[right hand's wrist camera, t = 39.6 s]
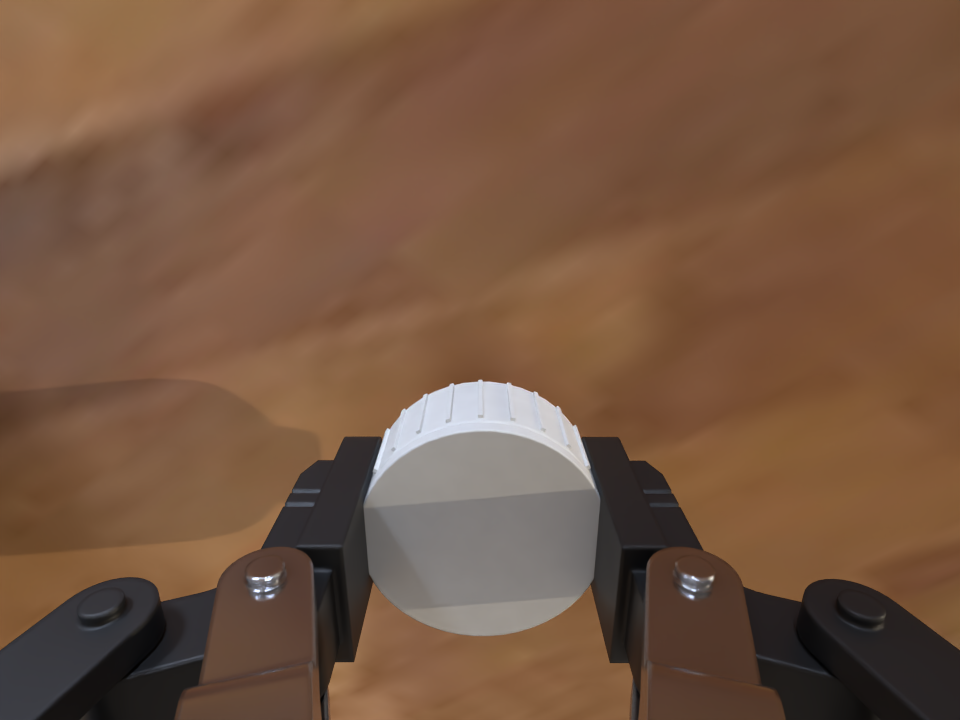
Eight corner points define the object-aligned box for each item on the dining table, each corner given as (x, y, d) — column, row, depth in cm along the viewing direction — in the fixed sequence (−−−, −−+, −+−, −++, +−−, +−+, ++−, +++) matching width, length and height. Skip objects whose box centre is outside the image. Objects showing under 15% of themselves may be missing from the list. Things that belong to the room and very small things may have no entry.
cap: (506, 595, 13) (511, 674, 11) (335, 499, 12) (307, 567, 10) (633, 453, 12) (663, 514, 10) (453, 335, 11) (447, 377, 9)
